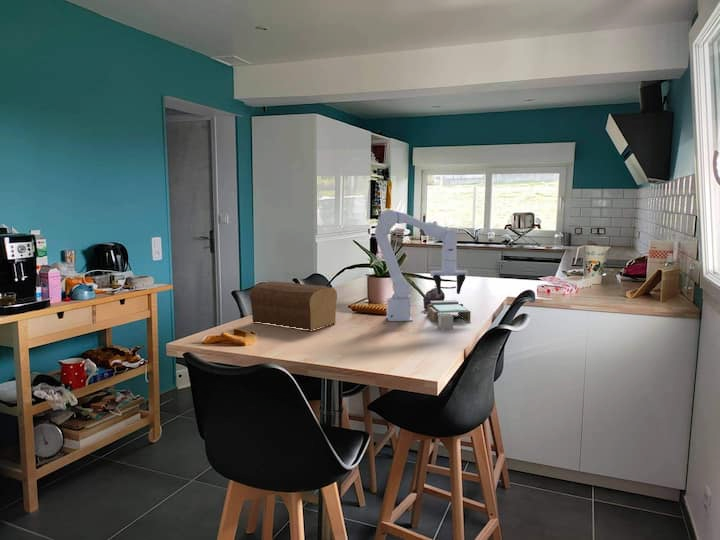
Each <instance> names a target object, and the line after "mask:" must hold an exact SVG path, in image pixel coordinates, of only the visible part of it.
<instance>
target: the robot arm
mask: <svg viewBox="0 0 720 540" xmlns="http://www.w3.org/2000/svg"><path fill="white" fill-rule="evenodd" d="M396 224H398V225H399V224H406V225H409V226H412V227H414V228H417V229H420V230H422V231H423V233H424V235H426V236H427V237H430V238H432V239H434V240H437V241H438V242H439V241H441V242H442V248H441V270H431V271H430V277H432V279H433V281H434V283H435V286H436V288H437V290H438V294H441V290H442V289H441V288H442V287H441V283H442V278H441V277H452V276H453V277H454V276H456V294H458V295H460V293H461V290H462V286H463V284H464V282H465V280H466V277H467V276H468V275H469V273H468V270H463V269H462V270H459V269H457V260H458V259H457V252H458V251H457V249H458V248H457V243H458V241H459V236H458V233H457V232H456V231H455V230H452V229H450V228H449V227H448V226H446V225H445V226H443V225H441V224H438V221H436V220H435V221H429V222H425V221H422V220H420V219H418V218H416V217H414V216H412V215H409V214H407V213H404V212H400V211H396V210H393V209H389V208H388V209H385V210H383V211H381V212H380V214H379V216H378V218H377V223H376V227H375V232H374V237H375V239H376V243H377V244H378V247H379V249H380V252H381V254H382V255H381V256H382V258H383V259H384V262H385V264H386V268H387V270H388V273H389V275H390V279H391V282H392V290H393V292H394V293H393V294H392V295H391V297H387V299H386V319H387V320H388V322H412V321H414V320H413V318H412V317H411V295H410V294H411V287H410V285H409V283H408V282H407V281H406V280H405V277H404V276H403V274H402V271H401V268H400V266H399V263H398V261H397V257H396V255H395V253H394V250H393V247H392V244H391V241H390V239H389V237H388V235H389V234H390V231H391V229H392V228H393V227H394V226H395V225H396Z"/></svg>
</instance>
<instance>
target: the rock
mask: <svg viewBox="0 0 720 540" xmlns="http://www.w3.org/2000/svg"><path fill="white" fill-rule="evenodd" d="M445 296H446V295H445V292H444V291H443V290H442V289H441V294H438V290H437V287H433V288H431V289H429V290H428V291H427V292H426V293H425V295H424V297H423V299H422V300H423V309H424V310H426V311H427V306H428V305H430V301H445V298H446V297H445ZM425 297H426V298H427V299H428V300H427V299H426V298H425ZM433 309H434V308H433Z"/></svg>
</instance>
